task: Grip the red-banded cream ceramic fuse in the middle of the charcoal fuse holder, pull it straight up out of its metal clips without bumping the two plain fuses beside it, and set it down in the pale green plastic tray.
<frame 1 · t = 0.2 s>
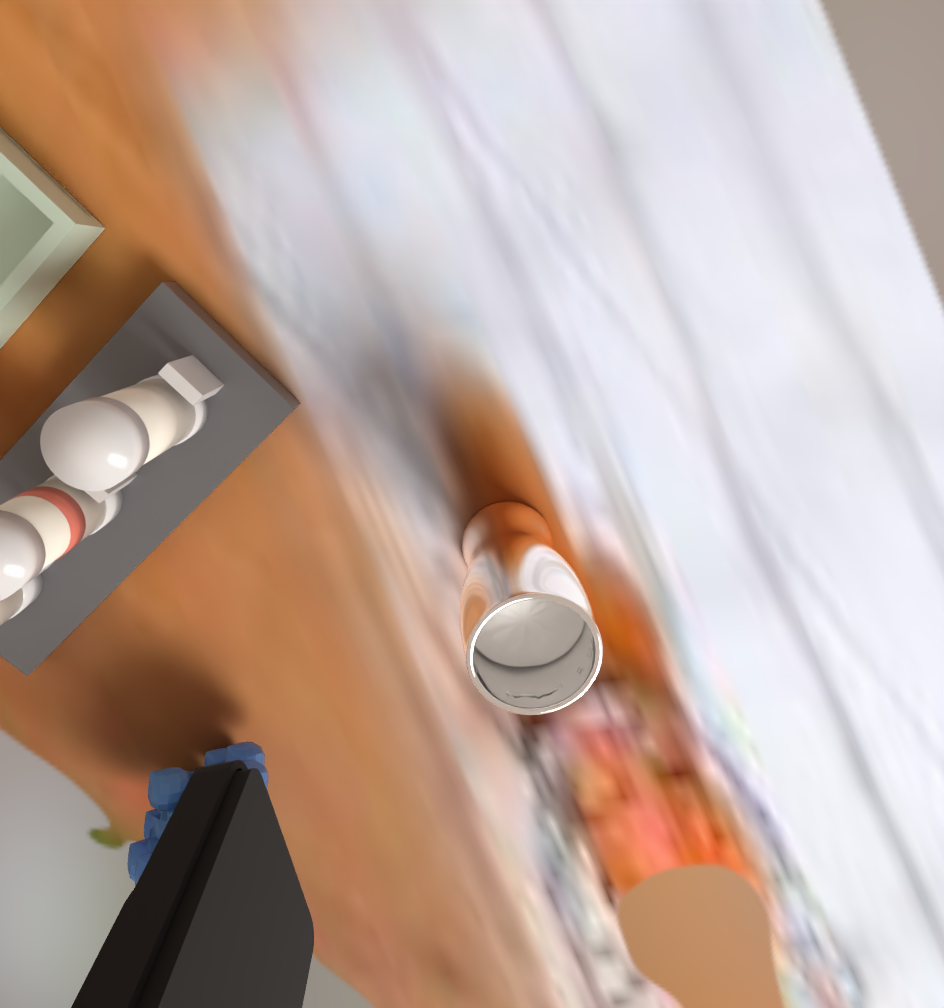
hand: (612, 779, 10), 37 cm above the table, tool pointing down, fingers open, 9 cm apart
fuse holder: (104, 486, 46), on the table
beer glass: (506, 542, 48), on the table
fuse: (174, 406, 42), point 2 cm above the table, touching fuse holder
grapes: (218, 745, 52), on the table
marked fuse: (89, 495, 44), point 2 cm above the table, touching fuse holder
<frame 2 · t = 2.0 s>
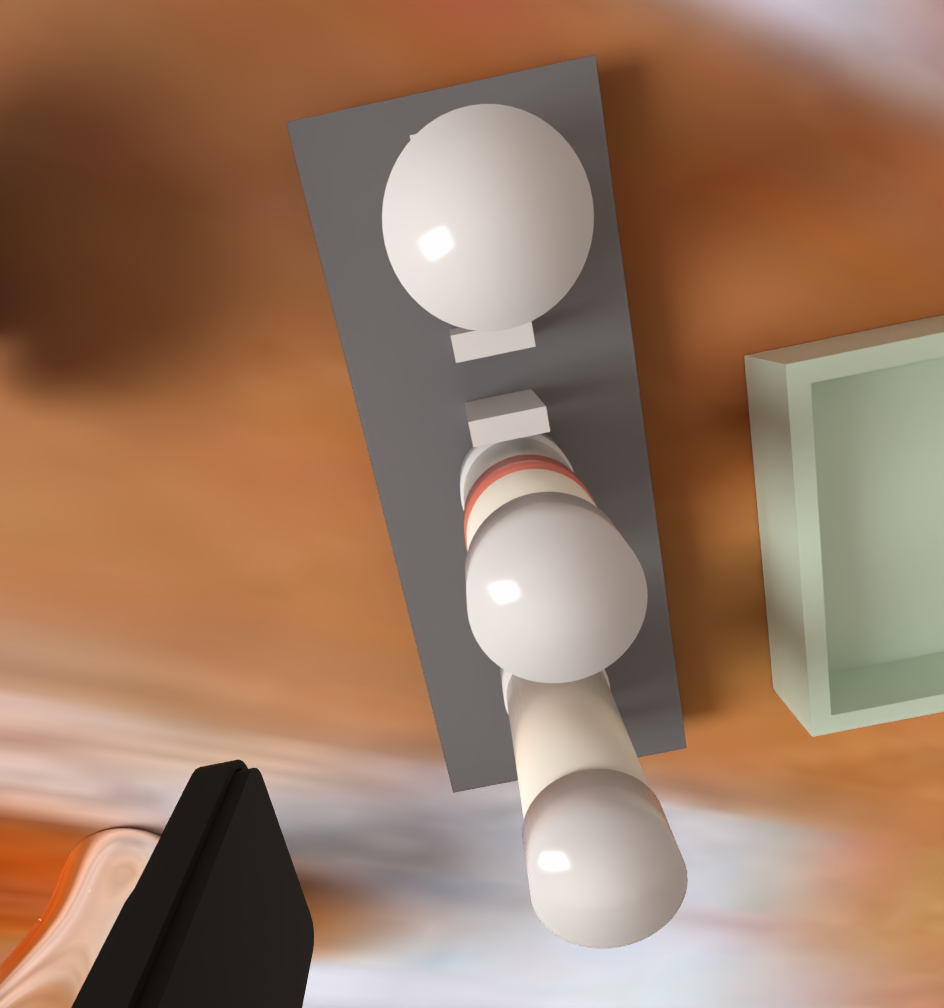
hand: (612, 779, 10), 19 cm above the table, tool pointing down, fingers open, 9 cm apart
fuse holder: (509, 465, 28), on the table
beer glass: (133, 876, 33), on the table
tray: (938, 498, 29), on the table
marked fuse: (513, 478, 26), point 2 cm above the table, touching fuse holder
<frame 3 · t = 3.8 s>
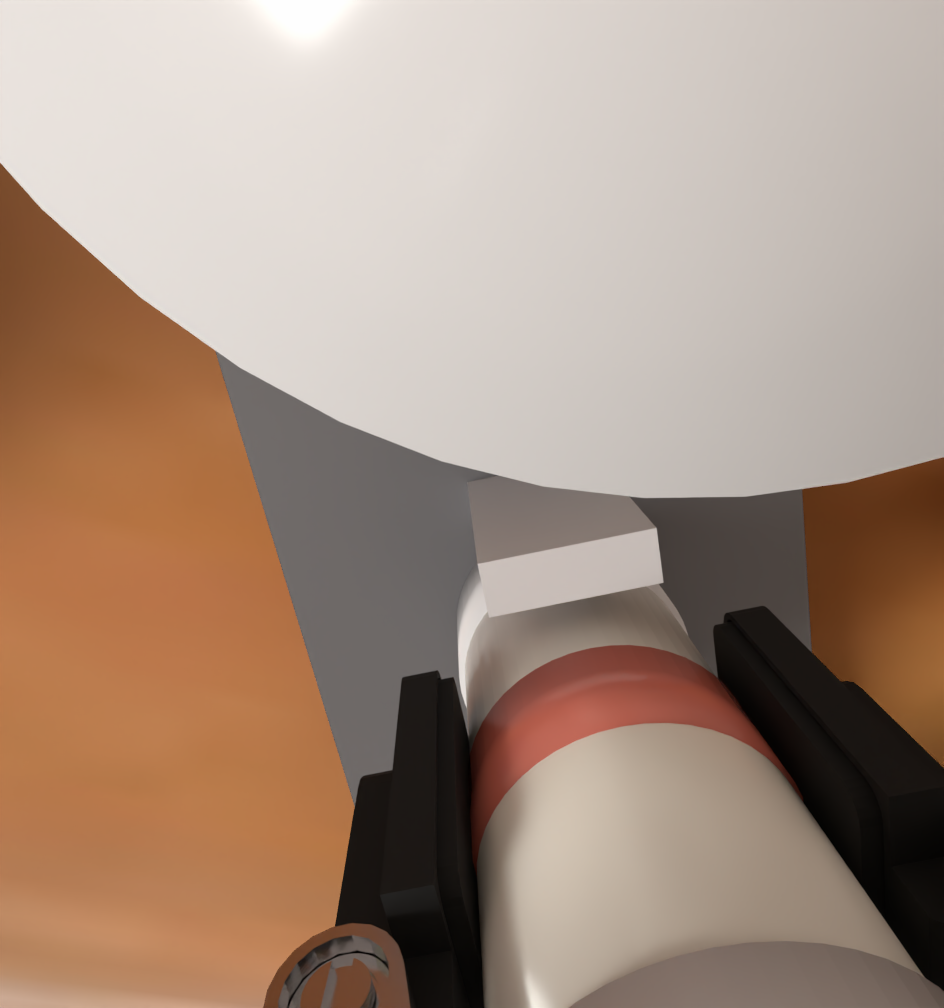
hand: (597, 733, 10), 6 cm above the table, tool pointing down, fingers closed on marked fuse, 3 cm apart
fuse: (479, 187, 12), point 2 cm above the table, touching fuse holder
fuse holder: (543, 577, 16), on the table
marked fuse: (557, 617, 14), point 2 cm above the table, touching fuse holder, gripper
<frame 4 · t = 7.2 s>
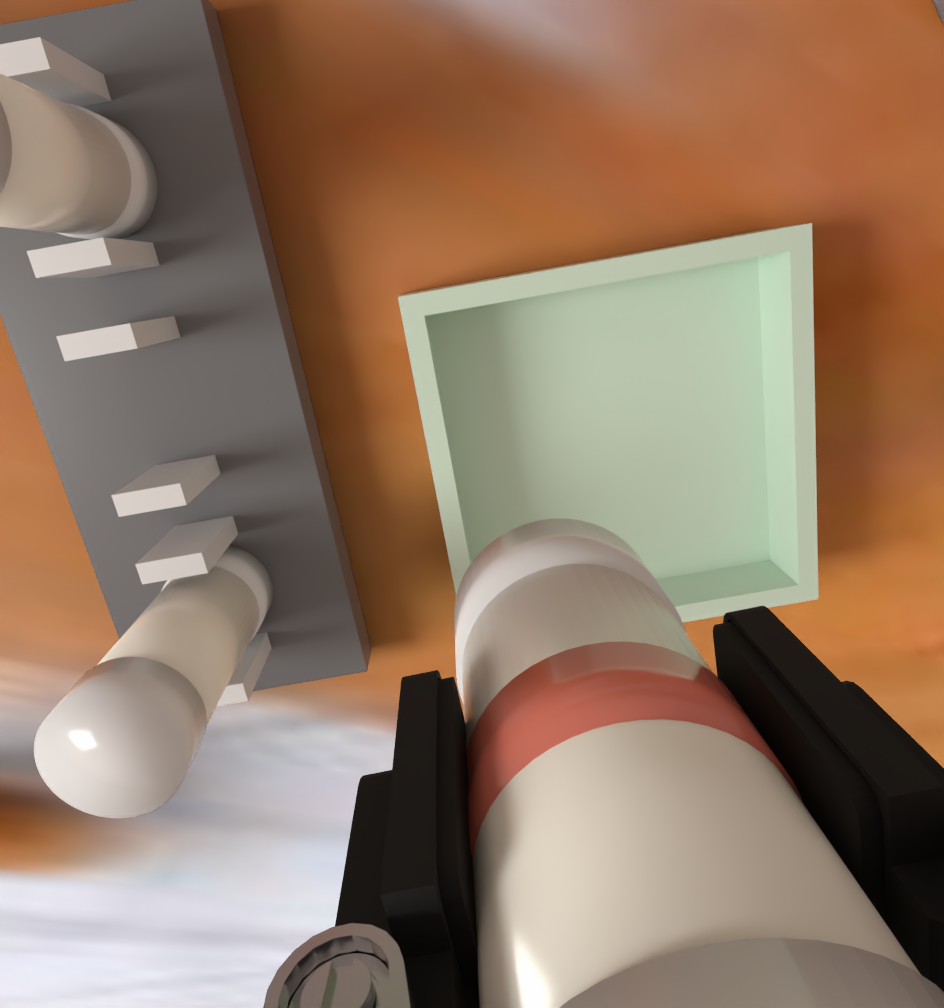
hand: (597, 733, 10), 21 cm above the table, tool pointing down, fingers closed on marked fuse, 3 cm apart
fuse holder: (185, 394, 29), on the table
tray: (605, 439, 31), on the table
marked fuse: (554, 614, 14), point 17 cm above the table, touching gripper
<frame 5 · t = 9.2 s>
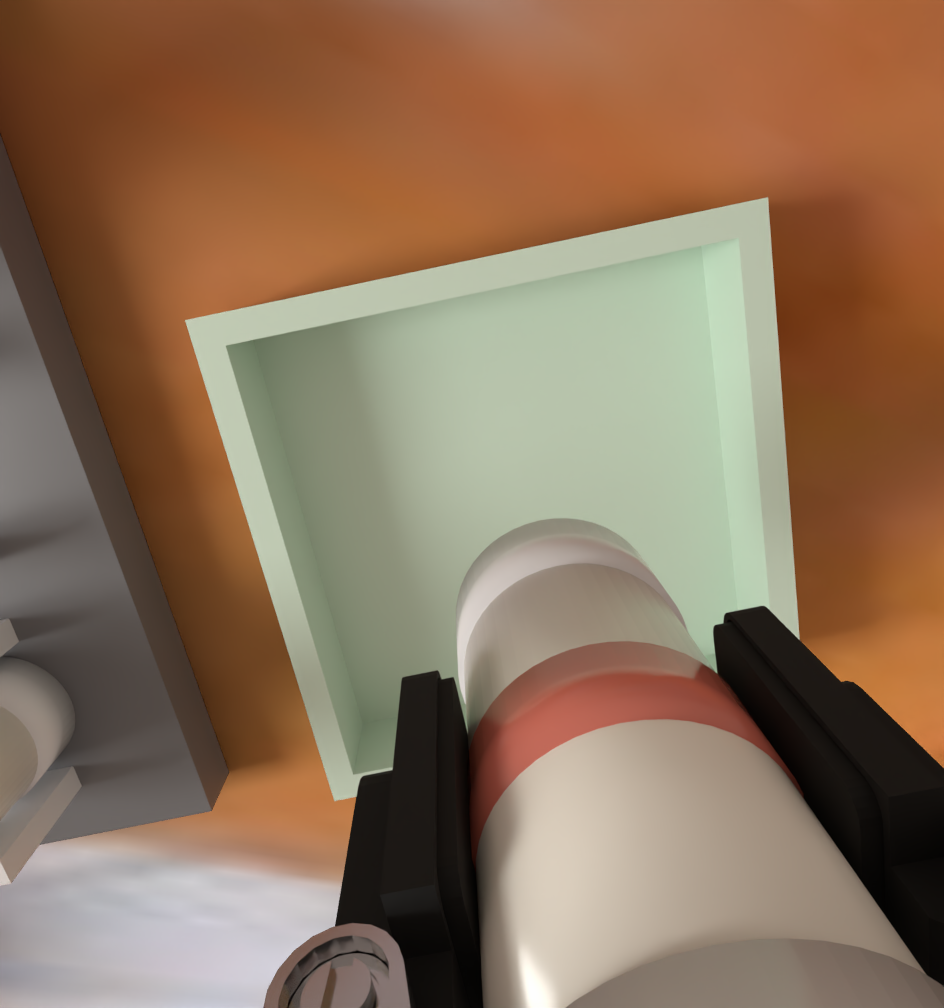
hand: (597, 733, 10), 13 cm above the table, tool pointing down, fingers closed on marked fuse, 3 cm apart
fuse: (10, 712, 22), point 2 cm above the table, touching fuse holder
tray: (514, 498, 23), on the table
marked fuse: (556, 613, 14), point 9 cm above the table, touching gripper
when the fingers open (6 cm above the table, at t = 10.8 s): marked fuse drops 1 cm, resting on tray.
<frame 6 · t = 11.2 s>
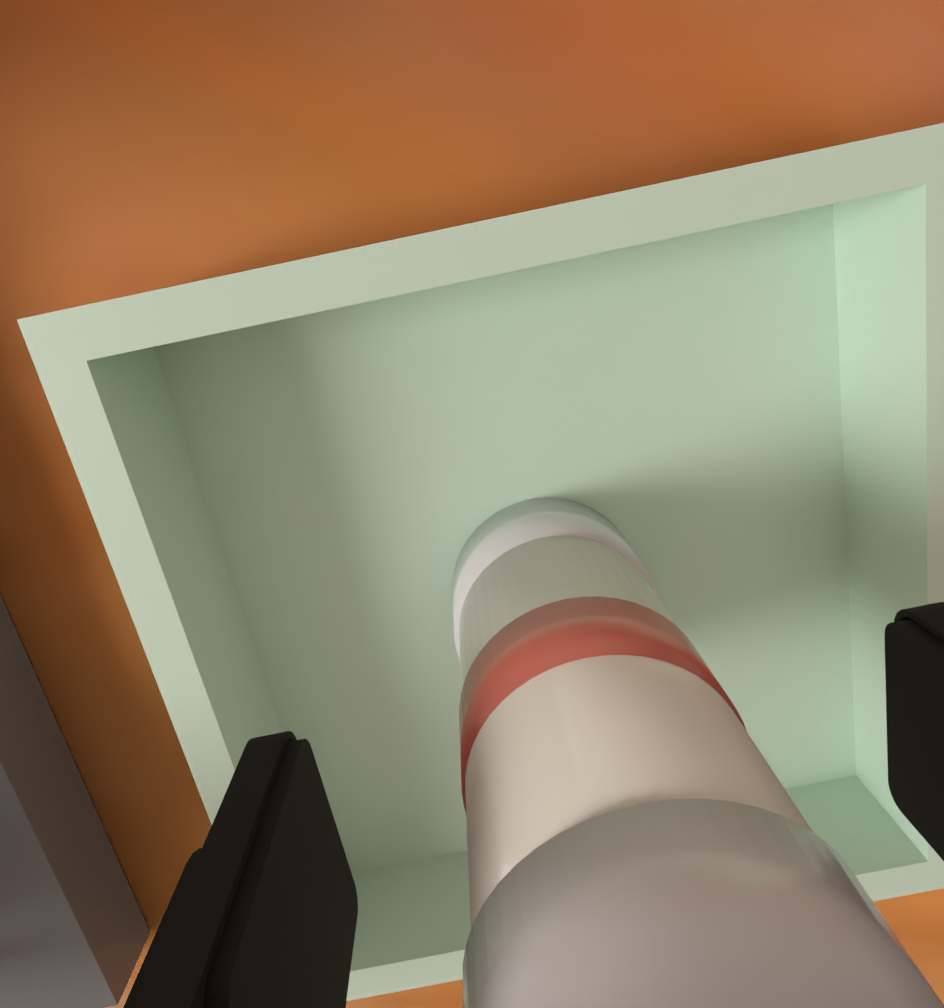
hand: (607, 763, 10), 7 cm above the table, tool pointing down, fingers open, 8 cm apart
tray: (541, 571, 16), on the table
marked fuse: (544, 585, 15), point 1 cm above the table, touching tray
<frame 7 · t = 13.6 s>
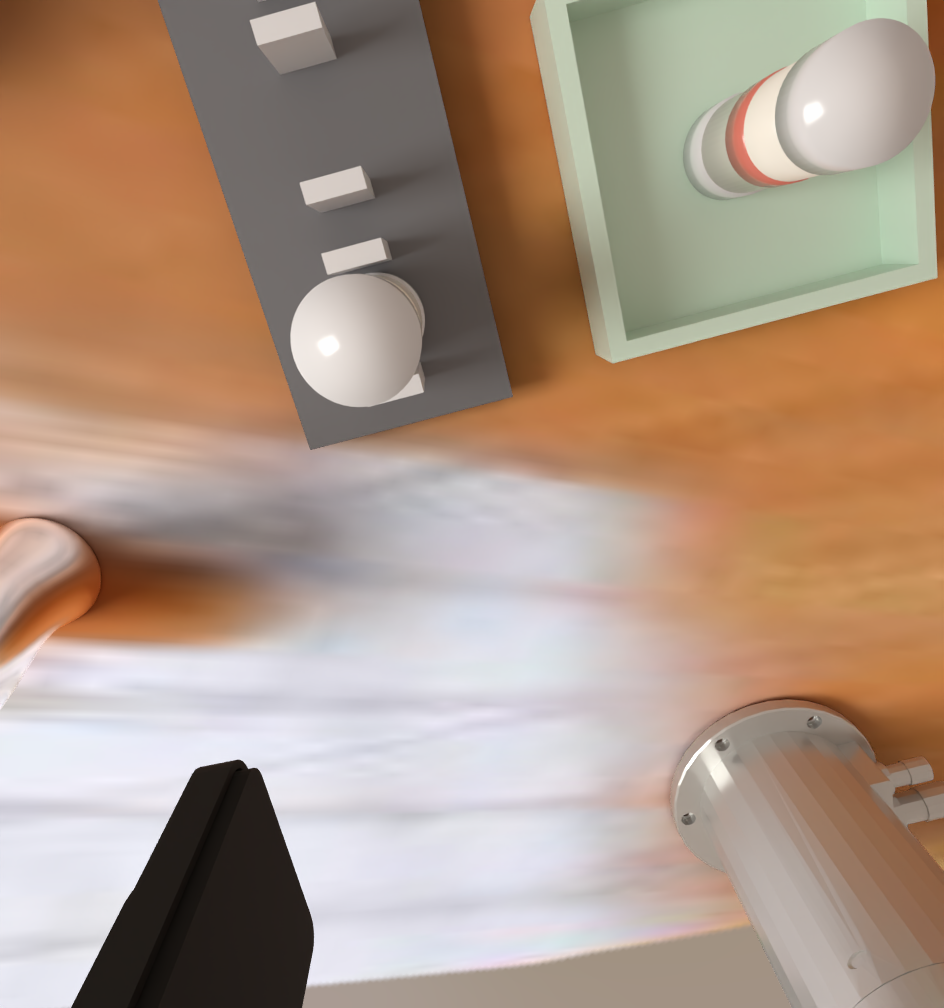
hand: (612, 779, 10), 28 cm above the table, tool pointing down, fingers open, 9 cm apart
fuse holder: (332, 136, 32), on the table
beer glass: (44, 569, 38), on the table
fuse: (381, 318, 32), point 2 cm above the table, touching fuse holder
tray: (721, 155, 33), on the table
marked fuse: (726, 151, 32), point 1 cm above the table, touching tray
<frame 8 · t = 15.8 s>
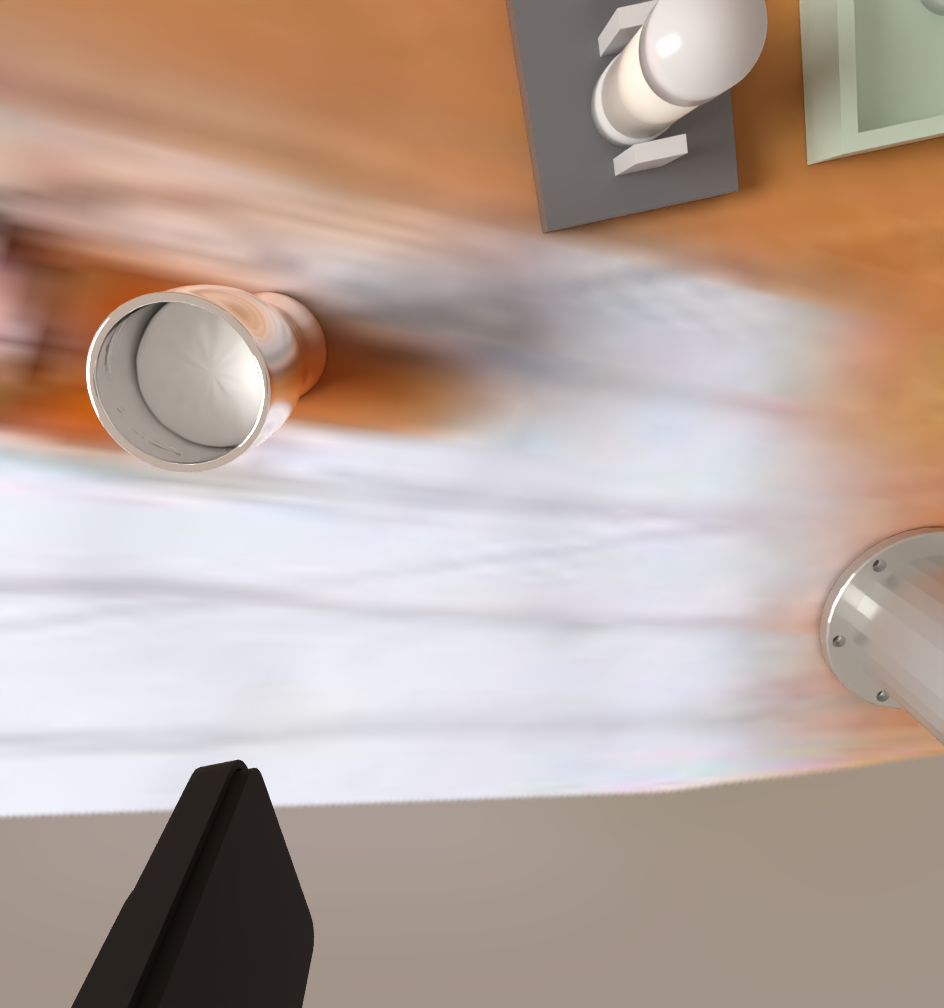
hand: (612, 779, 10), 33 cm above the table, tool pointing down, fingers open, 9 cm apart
beer glass: (273, 347, 40), on the table
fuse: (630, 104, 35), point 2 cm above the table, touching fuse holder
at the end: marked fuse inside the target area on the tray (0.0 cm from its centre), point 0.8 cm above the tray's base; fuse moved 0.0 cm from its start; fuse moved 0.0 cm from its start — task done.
